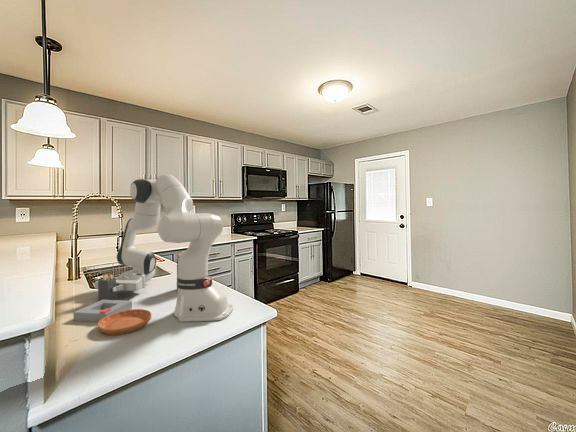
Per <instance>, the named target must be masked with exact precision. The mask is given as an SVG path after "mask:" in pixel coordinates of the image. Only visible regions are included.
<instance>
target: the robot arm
mask: <svg viewBox="0 0 576 432" xmlns="http://www.w3.org/2000/svg"><path fill="white" fill-rule="evenodd" d="M129 192H130V198H131V199H132V200H133V201H134V202H135V207H134V214H133V216H132V217H131V218H129V219H128V220H127V223H126V225H125V227H124V231H123V236H122V238H121V243H120V246H119V249H118V251H117V253H116V260H117V263H118V264H119V265H120V266H126V267H131V268H132V269H130V270H127V271H124V272H122V273H121V274H119V275H118V277H115V278H116V287H112V288H111V292H115V291H116V292H117V291H131V292H134V291H135V292H136V291H139V290H142V289H144V288H146V283H147V282H149V281H151V280H152V279H153V278H154V276H155V273H156V269H155V268H156V264H157V257H156V255H155V253H154V252H152V251H149V250H146V249H141V248H137V247H136V246H135V245H134V244H135V240H136V236H137V232H138V231H145V230H146V231H147V230H150V229H153V228H155V227H156V226H157V233H158V237H160V239H161V240H162V241H163V242H164V243H173V244H181V243H189V245H188V247H187V248H186V250H185V251H183V252H181V253H182V254H181V255H180V256H179V258H178V257H177V259H178V277H177V276H176V290H177V297H176V303H175V309H174V311H173V315H174V317H176V318H178V322H181V323H182V322H183V323H184V322H202V321H203V322H206V321H209V322H210V321H212V322H213V321H221V320H224V319H227V318H228V317H229V316H230V315H231V314H232V313H233V311H234V304H232V303H228V298H227V294H226V293H225V292H224V291H222V290H221V289H220V288H218V287H217V286H215V285H214V284H213V281H214V278H215V276H212V277H211V276H210V274H208V273H209V272H208V271H209V269H208V268H209V256H210V251H211V249H212V246H213V244H214V243H215V241H216V240H217V238H218V237H219V236H220V235H221V234H222V232H223V229H224V224H223V220H222V219H221V218H220V216H219V215H217V214H213V213H208V212H202V213H201V212H200V213H198V212H197V213H193V212H191V211H192V209H193V207H194V201H193V198H192V196H190V194H189V192H188V191H187V190H186V188H185V186H184V185H183V184H182V183H181V181H180V180H179V179H178V178H176V176H174V175H173V174H170V173H164V174H161V175H160V176H158V177H157V178H155V179H152V178H150V179H149V178H148V179H144V178H142V179H141V178H140V179H135V180H133V182H131V184H130V189H129ZM161 205H162V207H163V208H164V210H165V215H164V216H163V217H161V210H162V209H161V208H162V207H161ZM94 290H98V280H96V281H95V282H94Z"/></svg>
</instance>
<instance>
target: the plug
mask: <svg viewBox="0 0 576 432" xmlns="http://www.w3.org/2000/svg"><path fill="white" fill-rule="evenodd" d="M113 276H114V275H113V274H104V275H102V278H100V279H98V280H97V281H98V289H97V292H98V301H100V300H117V291H115V292H111V288H112V287H116V278H117V277H113Z"/></svg>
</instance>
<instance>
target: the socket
mask: <svg viewBox="0 0 576 432" xmlns="http://www.w3.org/2000/svg"><path fill="white" fill-rule="evenodd" d="M131 309H133V300H124V299H123V300H120V299H116V300H100V301H99V300H98V301H96V302H94V303H91V304H90V305H87V306H85V307H82V308H80V309H78V310H75V311H73V321H74V322H77V321H78V322H94V323H98V322H99V321H100V320H101V319H102V318H104V317H106V316H108V315H110V314H113V313H116V312H120V311H124V310H131Z"/></svg>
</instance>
